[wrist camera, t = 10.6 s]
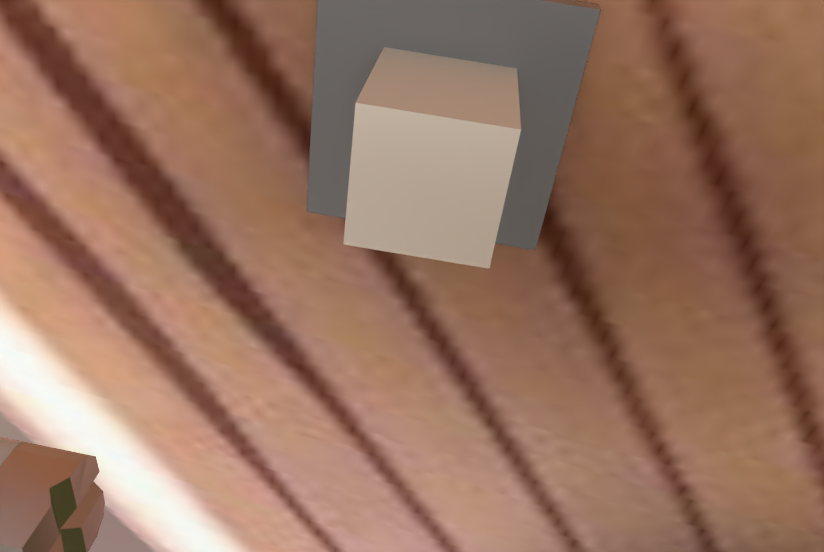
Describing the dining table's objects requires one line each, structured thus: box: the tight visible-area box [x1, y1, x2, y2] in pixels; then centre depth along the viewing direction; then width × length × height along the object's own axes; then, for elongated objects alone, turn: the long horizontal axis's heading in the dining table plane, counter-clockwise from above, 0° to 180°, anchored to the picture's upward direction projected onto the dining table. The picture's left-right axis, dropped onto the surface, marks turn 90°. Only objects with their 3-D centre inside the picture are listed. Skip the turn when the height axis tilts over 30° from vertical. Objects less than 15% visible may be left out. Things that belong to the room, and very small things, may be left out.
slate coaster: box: [307, 0, 601, 250], centre depth 25 cm, size 9×9×1 cm
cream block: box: [343, 47, 521, 269], centre depth 22 cm, size 4×4×6 cm
